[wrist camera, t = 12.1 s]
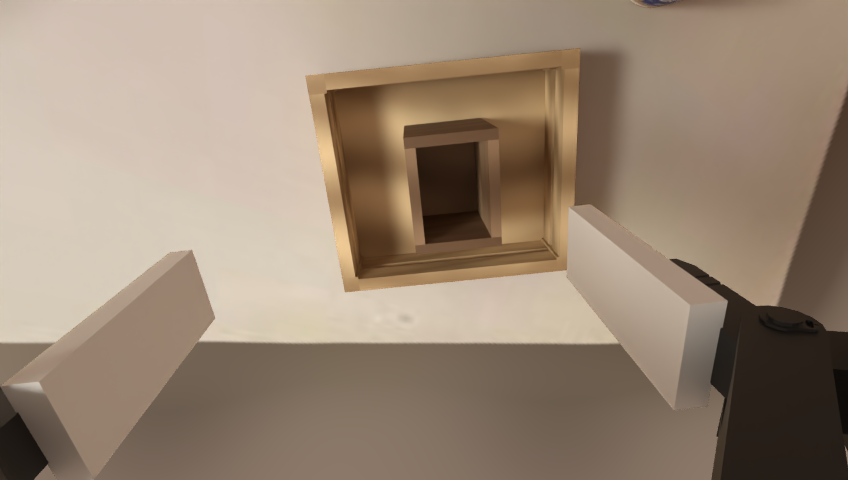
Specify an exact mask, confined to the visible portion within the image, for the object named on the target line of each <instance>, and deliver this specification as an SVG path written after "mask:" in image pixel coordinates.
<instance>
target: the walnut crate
mask: <svg viewBox="0 0 848 480" xmlns="http://www.w3.org/2000/svg"><path fill="white" fill-rule="evenodd" d="M403 141H404V150H405V159H406V168H407V177H408V186H409V195H410V204H411V213H412V222H413V231H414V240H415V249H416V255H418V254H428V253H438V252H447V251H457V250H467V249H477V248H487V247H496V246H502V228H501V194H500V161H499V128H497V127H496V126H494V125H492V124H490V123H489V122H487V121H485V120H483V119H482V118H474V119H464V120H455V121H445V122H435V123H425V124H416V125H406V126H404V133H403Z"/></svg>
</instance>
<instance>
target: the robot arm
mask: <svg viewBox="0 0 848 480" xmlns="http://www.w3.org/2000/svg"><path fill="white" fill-rule="evenodd" d="M567 278H568V279H569V281H570V282H571V283H572V284H573V286H574V287H575V288H576V289H577V291H578V292H579V293H580V294H581V295H582V297H583V298H584V299H585V300H586V302H587V303H588V304H589V305H590V307H591V308H592V309H593V310H594V312H595V313H596V314H597V315H598V317H599V318H600V319H601V320H602V322H603V323H604V324H605V325H606V327H607V328H608V329H609V330H610V332H611V333H612V334H613V335H614V337H615V338H616V339H617V340H618V341H619V343H620V344H621V345H622V346H623V348H624V349H625V350H626V351H627V352H628V354H629V355H630V356H631V358H632V359H633V360H634V361H635V363H636V364H637V365H638V366H639V368H640V369H641V370H642V371H643V373H644V374H645V375H646V376H647V377H648V379H649V380H650V381H651V382H652V384H653V385H654V386H655V387H656V389H657V390H658V391H659V392H660V394H661V395H662V396H663V397H664V399H665V400H666V401H667V402H668V403H669V405H670V406H671V407H672V409H673V410H681V409H690V408H698V407H706V406H707V405H708V400H709V395H710V390H711V385H713V386H714V387H715V388H716V389H717V390H718V391H719V392H720V393H721V394H722V395H723V396H724V397H725V399H724V403H723V408H722V413H721V417H720V422H719V427H718V431H717V437H718V440H717V447H716V454H715V460H714V467H713V473H712V480H848V465H847V458H846V451H845V447H846V449H847V450H848V332H837V331H826V329H825V328H824V326H823V325H822V324H821V323H819V322H818V321H817V320H815V319H814V318H812V317H810V316H807V315H805V314H803V313H801V312H798V311H795V310H791V309H787V308H783V307H776V306H755V305H754V304H752V303H751V302H749V301H748V300H746V299H745V298H743V297H742V296H740V295H739V294H737V293H736V292H734V291H733V290H731V289H730V288H728V287H727V286H725V285H721V284H720V282H719V281H717V280H716V279H714V278H713V277H709V275H708V274H707V273H705V272H704V271H702V270H701V269H699V268H698V267H696V266H695V265H692V264H689V263H686V262H684V261H681V260H678V259H668V258H666V257H665V256H663V255H662V254H661V253H659V252H658V251H656V250H655V249H653V248H652V247H651V246H649V245H648V244H646V243H645V242H643V241H642V240H641V239H639V238H638V237H636V236H635V235H634V234H632V233H631V232H629V231H628V230H626V229H625V228H624V227H622V226H621V225H619V224H618V223H616V222H615V221H614V220H612V219H611V218H609V217H608V216H607V215H605V214H604V213H602V212H601V211H599V210H598V209H597V208H595V207H594V206H592V205H591V204H588V205H579V206H571V207H569V213H568V249H567ZM214 319H215V316H214V313H213V310H212V307H211V304H210V301H209V298H208V295H207V292H206V290H205V287H204V284H203V281H202V278H201V275H200V272H199V269H198V266H197V263H196V260H195V257H194V254H193V251H192V250H188V251H179V252H170V253H169V254H167V255H166V256H165V257H164V258H162V259H161V260H160V261H159V262H157V263H156V264H155V265H153V266H152V267H151V268H150V269H148V270H147V271H146V272H145V273H143V274H142V275H141V276H139V277H138V278H137V279H136V280H134V281H133V282H132V283H131V284H129V285H128V286H127V287H125V288H124V289H123V290H122V291H120V292H119V293H118V294H117V295H115V296H114V297H113V298H112V299H110V300H109V301H108V302H106V303H105V304H104V305H103V306H101V307H100V308H99V309H98V310H96V311H95V312H94V313H92V314H91V315H90V316H89V317H87V318H86V319H85V320H84V321H82V322H81V323H80V324H78V325H77V326H76V327H75V328H73V329H72V330H71V331H70V332H68V333H67V334H66V335H64V336H63V337H62V338H61V339H59V340H58V341H57V342H56V343H54V344H53V345H52V346H50V347H49V348H48V349H47V350H45V351H44V352H43V353H42V354H40V355H39V356H38V357H37V358H36V359H34V360H33V361H31V362H30V363H29V364H28V365H26V366H25V367H24V368H23V369H21V370H20V371H19V372H17V373H16V374H15V375H14V376H12V377H11V378H10V379H9V380H7V381H6V382H5V383H3V385H1V386H0V480H34V479H35V477H36V476H37V475H38V474H39V473H40V472H41V471H42V470H43V469H44V468H45V466H46V465H47V464H48V466H49V467H50V469H51V471H52V472H53V474H54V476H55V477H56V479H57V480H93V479H95V477H96V476H97V475H98V473H99V472H100V471H101V469H102V468H103V467H104V465H105V464H106V463H107V461H108V460H109V459H110V457H111V456H112V454H113V453H114V452H115V451H116V449H117V448H118V447H119V445H120V444H121V443H122V441H123V440H124V439H125V437H126V436H127V435H128V433H129V432H130V431H131V429H132V428H133V427H134V425H135V424H136V423H137V421H138V420H139V419H140V417H141V416H142V415H143V413H144V412H145V411H146V409H147V408H148V407H149V405H150V404H151V403H152V401H153V400H154V399H155V397H156V396H157V395H158V393H159V392H160V391H161V389H162V388H163V386H164V385H165V384H166V382H167V381H168V380H169V379H170V377H171V376H172V375H173V373H174V372H175V371H176V369H177V368H178V367H179V366H180V364H181V363H182V361H183V360H184V359H185V358H186V356H187V355H188V354H189V352H190V351H191V349H192V348H193V347H194V346H195V344H196V343H197V342H198V340H199V339H200V338H201V336H202V335H203V334H204V332H205V331H206V330H207V328H208V327H209V326H210V324H211V323H212V322H213V320H214Z"/></svg>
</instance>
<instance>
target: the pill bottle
mask: <svg viewBox="0 0 848 480" xmlns="http://www.w3.org/2000/svg"><path fill="white" fill-rule="evenodd" d="M630 1H631V2H633V3H635V4H636V5H639V6H642V7H658V6H662V5H666V4H670V3H673V2H677V1H681V0H630Z"/></svg>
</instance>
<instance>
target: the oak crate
mask: <svg viewBox="0 0 848 480" xmlns="http://www.w3.org/2000/svg"><path fill="white" fill-rule="evenodd" d="M579 72H580V48H577V49H568V50H558V51H548V52H538V53H528V54H518V55H508V56H498V57H488V58H478V59H468V60H458V61H448V62H438V63H428V64H418V65H408V66H398V67H388V68H378V69H368V70H358V71H348V72H338V73H328V74H318V75H308V76H306V81H307V87H308V92H309V98H310V103H311V109H312V114H313V120H314V125H315V130H316V136H317V141H318V147H319V152H320V158H321V163H322V169H323V174H324V180H325V185H326V191H327V196H328V202H329V207H330V212H331V218H332V223H333V229H334V234H335V240H336V245H337V251H338V256H339V262H340V267H341V273H342V278H343V284H344V289H345V292H353V291H363V290H373V289H383V288H393V287H403V286H413V285H423V284H433V283H443V282H453V281H463V280H473V279H483V278H493V277H503V276H513V275H523V274H533V273H543V272H553V271H563V270H567V249H568V213H569V207H571V206H574V201H575V176H576V150H577V124H578V98H579ZM474 118H482V119H483V120H485V121H487V122H489V123H490V124H492V125H494V126H496V127H497V128H499V161H500V194H501V228H502V246H496V247H487V248H477V249H467V250H457V251H447V252H438V253H428V254H418V255H416V249H415V240H414V231H413V222H412V213H411V204H410V195H409V186H408V177H407V168H406V159H405V150H404V141H403V133H404V126H406V125H416V124H425V123H435V122H445V121H455V120H464V119H474Z"/></svg>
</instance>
